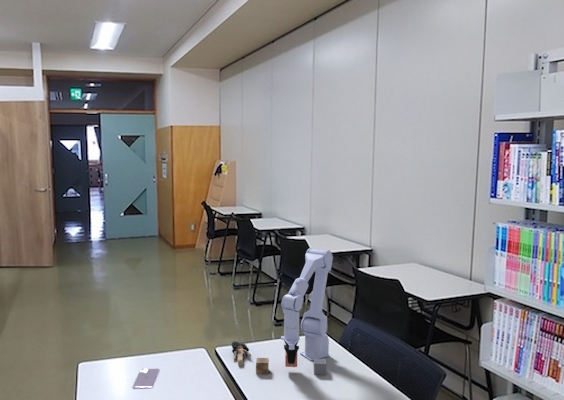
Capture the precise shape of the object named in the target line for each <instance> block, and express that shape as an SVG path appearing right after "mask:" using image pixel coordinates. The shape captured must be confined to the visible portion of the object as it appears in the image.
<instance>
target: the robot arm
mask: <svg viewBox="0 0 564 400" xmlns="http://www.w3.org/2000/svg"><path fill="white" fill-rule="evenodd" d="M305 252H306V253H305V255H304V256H305V257H304V259H305V263H304V266H303V268H302V270H301V273H300V276H299V277H298V278H296V279H295V280H294V282H293V283H292V285H291V287H290V289H289V291H288V293H287V294H285V295H283V296H282V299H281V302H280V306H281V308H282V313H283V317H284V318H283V335H281V336H280V340H282V341H283V342H284V344H283V348H284V351H286V353H287V358H288V363H289V364H294V362H295V358H296V354H297V355H298V351H299V349H300V346H299V345H298V343H299V341H300V330H301V331H302V332H303V336H304V351H302V352H300V355H301V356H303V357H304V358H306V359H308V360H309V361H314V359H325V358H326V357H330V353H329V351H330V350H329V349H330V348H329V347H330V346H329V344H330V341H329V337H328V334H327V332H328V317H327V316H326V315H325V314H324V312H323V307H324V299H325V295H326V294H325V293H326V288H327V287H326V286H327V280H328V275H329V272H331V271H332V265H333V259H334V256H333V253H332V251H331V250H329V249H327V250H326V249H320V248H313V247H309V248H308V249H307V250H306V251H305ZM314 273H315V276H314V282H313V288H312V294H311V300H310V307H309V310H307V311H305V312H304V313H303V316H302V319H301V322H300V311H301V309H302V308H303V304H304V296H305V294H306V292H307V290H308V288H309V280H310V279H311V278H312V276H313V274H314Z"/></svg>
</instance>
